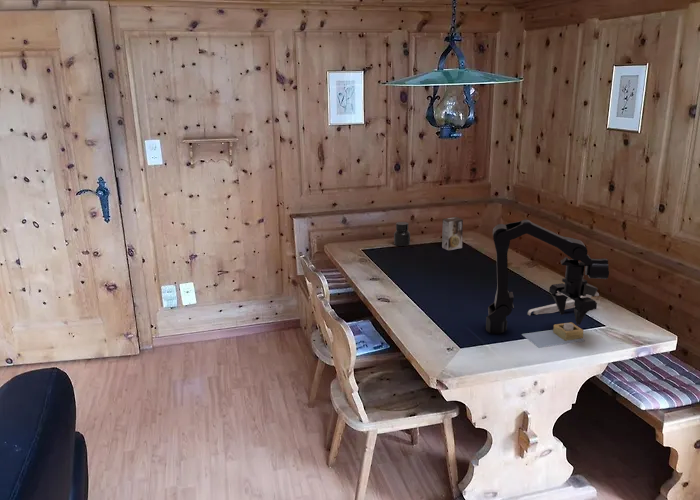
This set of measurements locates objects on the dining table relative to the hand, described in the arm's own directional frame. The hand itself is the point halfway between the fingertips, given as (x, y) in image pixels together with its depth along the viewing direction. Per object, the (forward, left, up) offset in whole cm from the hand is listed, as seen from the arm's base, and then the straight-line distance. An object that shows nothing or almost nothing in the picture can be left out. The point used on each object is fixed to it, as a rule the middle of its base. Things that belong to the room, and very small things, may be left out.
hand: (570, 319), depth 198 cm
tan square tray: (0, 0, -6) cm, 6 cm away
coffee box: (+8, +113, -7) cm, 114 cm away
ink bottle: (-15, +128, -7) cm, 129 cm away
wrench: (+11, +20, -8) cm, 24 cm away
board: (-6, 0, -7) cm, 9 cm away
